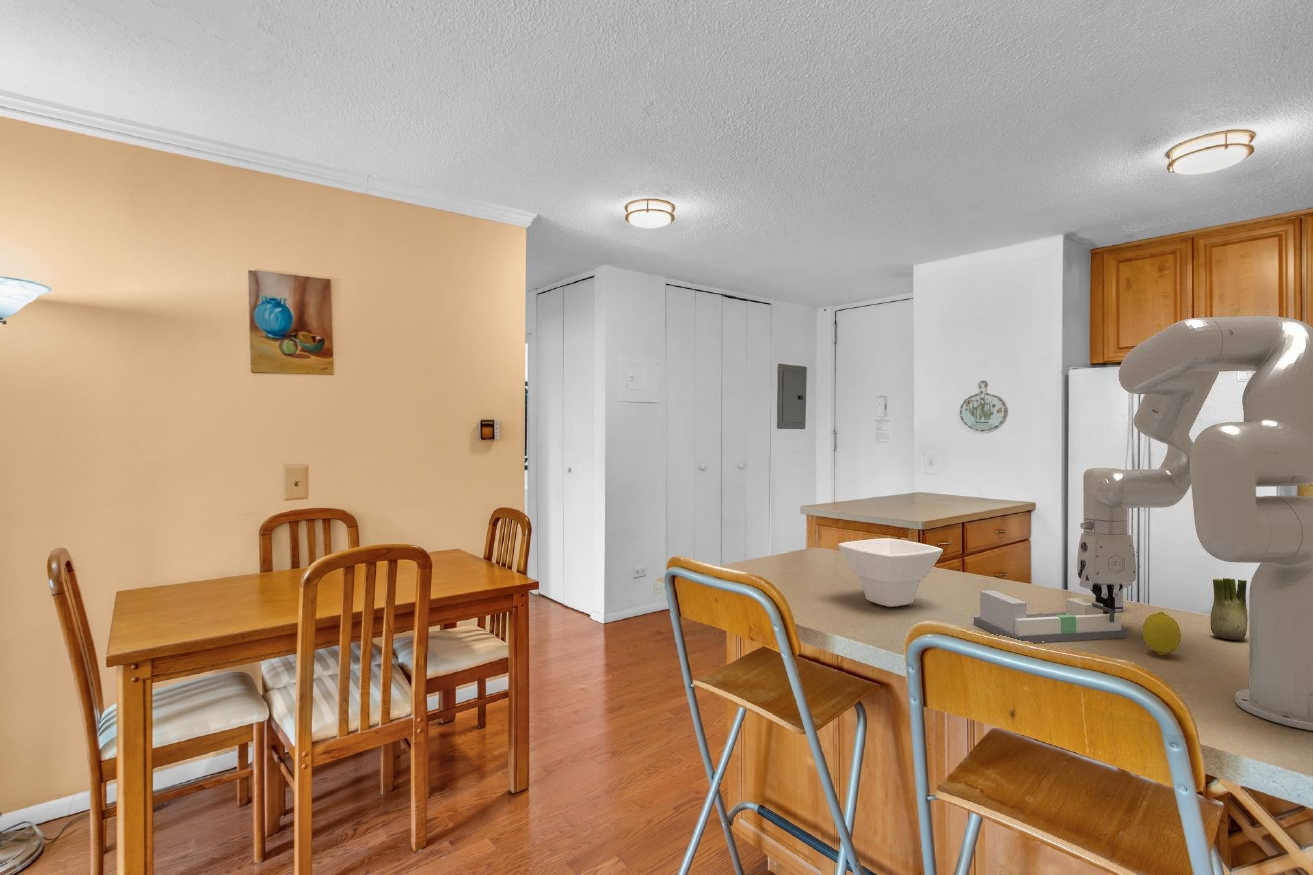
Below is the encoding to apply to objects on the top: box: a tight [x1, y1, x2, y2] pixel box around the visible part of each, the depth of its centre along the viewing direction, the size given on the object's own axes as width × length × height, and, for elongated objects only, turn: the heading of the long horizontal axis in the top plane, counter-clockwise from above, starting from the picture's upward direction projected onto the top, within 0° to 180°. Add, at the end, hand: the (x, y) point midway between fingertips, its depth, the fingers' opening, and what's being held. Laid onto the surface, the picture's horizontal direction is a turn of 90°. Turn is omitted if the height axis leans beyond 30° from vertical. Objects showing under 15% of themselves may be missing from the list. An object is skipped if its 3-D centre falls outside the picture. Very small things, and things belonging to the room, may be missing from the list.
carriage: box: [1065, 597, 1114, 622], centre depth 130 cm, size 10×5×4 cm, turn 7°
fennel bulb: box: [1210, 577, 1249, 641], centre depth 126 cm, size 6×5×12 cm
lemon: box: [1141, 611, 1182, 656], centre depth 117 cm, size 6×6×8 cm
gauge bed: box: [973, 589, 1128, 644], centre depth 132 cm, size 13×24×8 cm, turn 97°
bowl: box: [837, 537, 944, 608], centre depth 153 cm, size 19×19×14 cm
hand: (1105, 615), depth 133 cm, fingers closed
